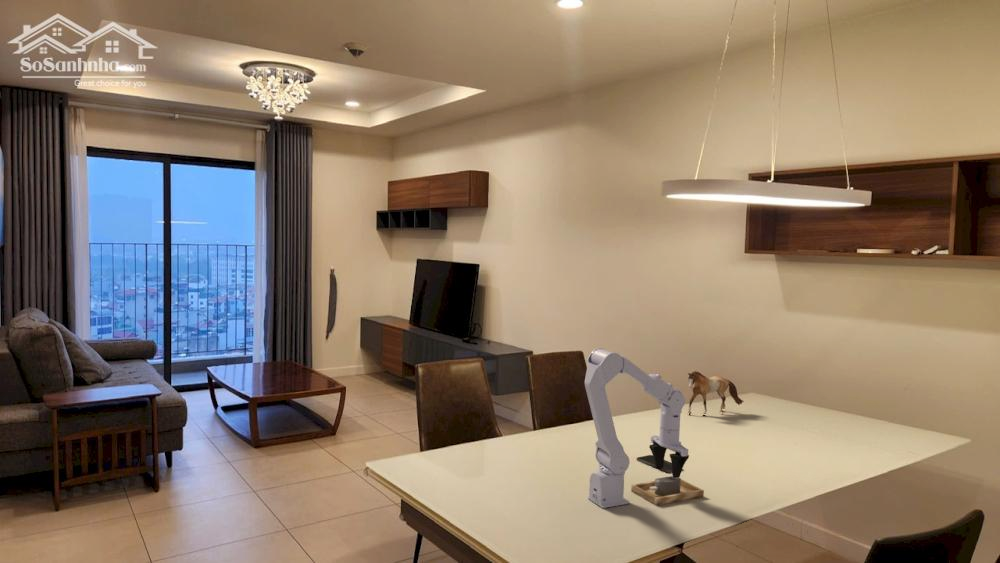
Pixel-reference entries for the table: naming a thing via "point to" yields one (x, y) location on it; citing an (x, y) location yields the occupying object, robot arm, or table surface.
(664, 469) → the phone
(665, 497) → the oak tray
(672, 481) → the grey rounded long block
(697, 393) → the horse figurine
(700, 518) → the table surface
